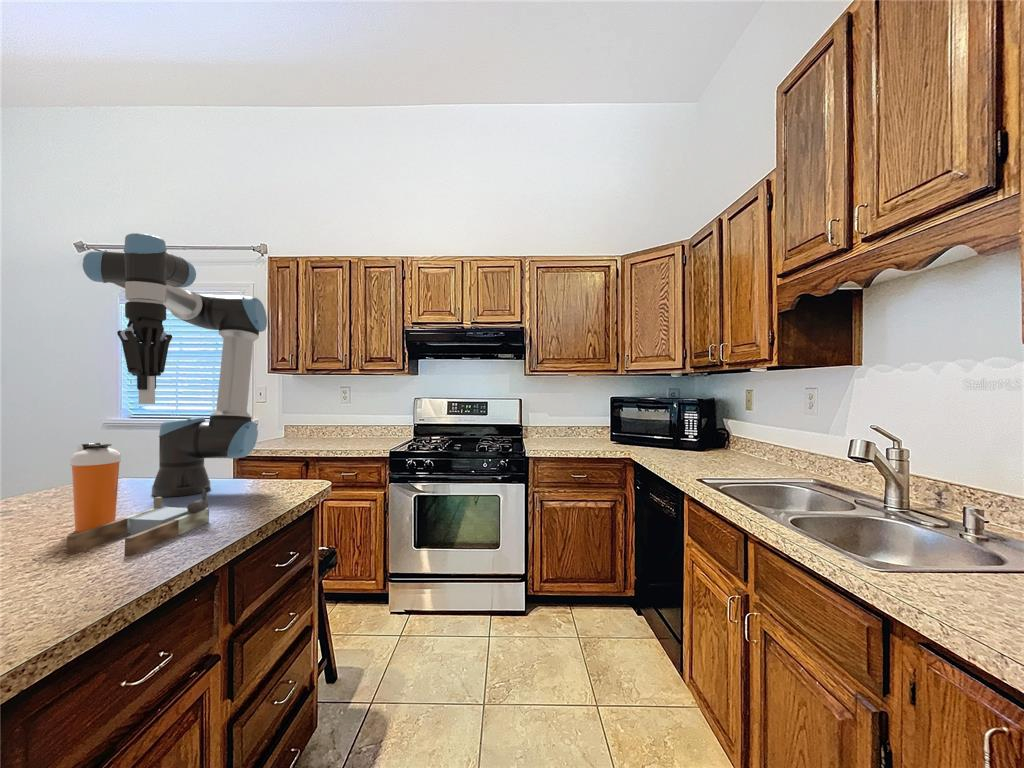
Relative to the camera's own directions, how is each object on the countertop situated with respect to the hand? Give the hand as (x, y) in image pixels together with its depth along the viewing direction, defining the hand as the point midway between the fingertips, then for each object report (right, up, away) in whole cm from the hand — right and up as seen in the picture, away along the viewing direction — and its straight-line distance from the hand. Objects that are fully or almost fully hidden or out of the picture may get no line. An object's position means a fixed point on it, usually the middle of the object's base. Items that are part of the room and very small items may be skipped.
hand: (146, 403), depth 108 cm
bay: (+2, -30, -4) cm, 30 cm away
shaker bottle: (-14, -30, +2) cm, 33 cm away
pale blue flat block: (+3, -30, +2) cm, 31 cm away
